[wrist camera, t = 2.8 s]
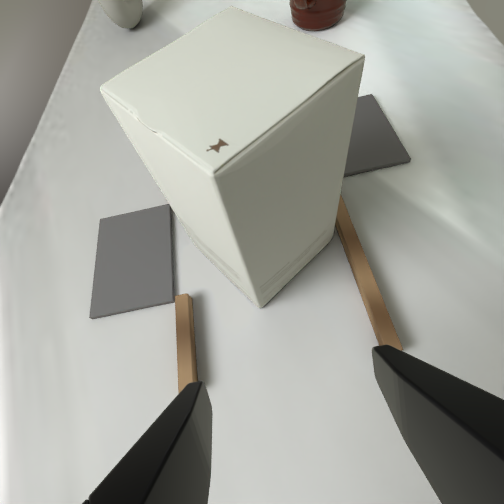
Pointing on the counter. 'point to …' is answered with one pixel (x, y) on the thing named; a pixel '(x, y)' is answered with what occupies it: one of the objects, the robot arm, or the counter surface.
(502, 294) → the counter surface
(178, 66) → the supplement box
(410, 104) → the counter surface
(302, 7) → the mug
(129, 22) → the donut
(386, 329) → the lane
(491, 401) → the robot arm
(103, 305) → the pads
